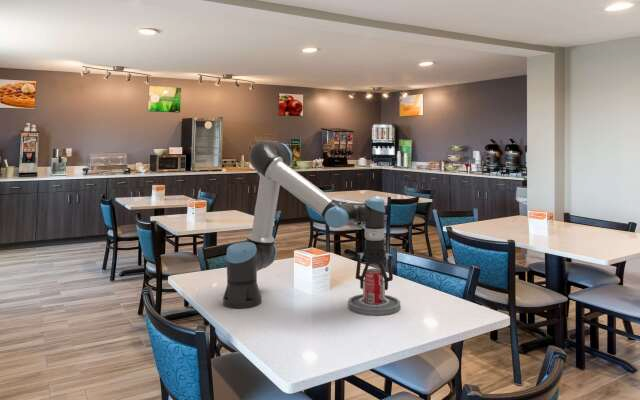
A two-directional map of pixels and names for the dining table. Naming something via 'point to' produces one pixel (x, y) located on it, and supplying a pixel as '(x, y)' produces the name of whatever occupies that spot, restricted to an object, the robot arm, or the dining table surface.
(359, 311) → the tray
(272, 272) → the dining table surface
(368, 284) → the soda can
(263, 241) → the robot arm
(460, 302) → the dining table surface
